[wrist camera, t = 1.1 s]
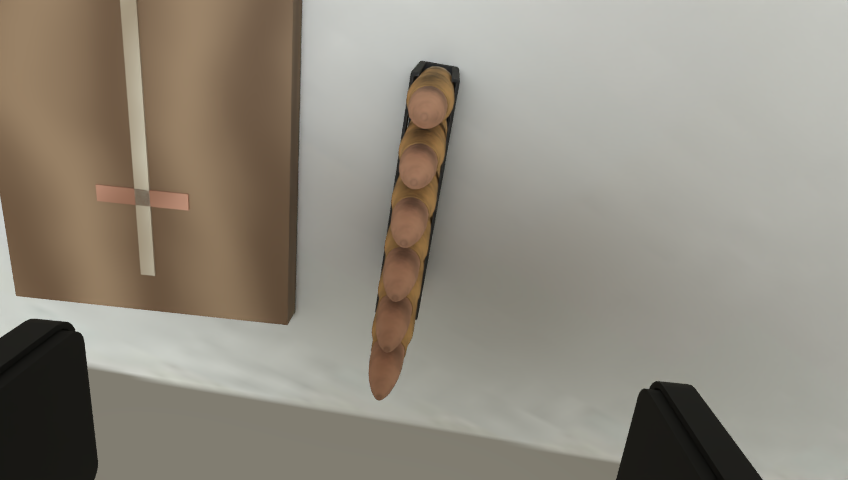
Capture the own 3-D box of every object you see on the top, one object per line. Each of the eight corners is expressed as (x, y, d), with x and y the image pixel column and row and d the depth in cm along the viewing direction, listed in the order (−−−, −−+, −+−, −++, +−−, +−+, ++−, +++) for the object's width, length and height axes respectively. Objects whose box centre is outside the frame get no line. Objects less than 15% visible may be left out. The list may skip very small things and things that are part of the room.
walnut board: (310, -366, 21) (299, -398, 19) (295, 311, 30) (286, 325, 29) (-63, -401, 21) (-102, -436, 20) (36, 284, 30) (14, 296, 29)
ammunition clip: (421, 279, 29) (403, 428, 18) (386, 273, 29) (346, 418, 18) (459, 67, 26) (466, 85, 14) (419, 60, 26) (394, 73, 14)
